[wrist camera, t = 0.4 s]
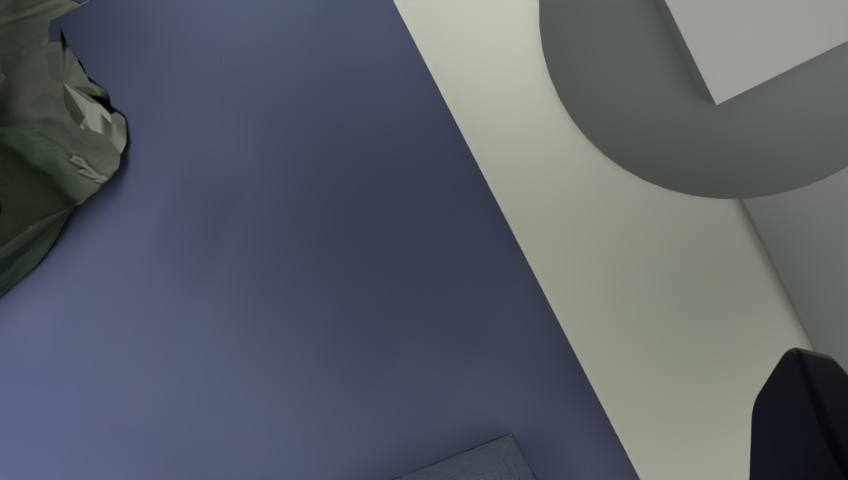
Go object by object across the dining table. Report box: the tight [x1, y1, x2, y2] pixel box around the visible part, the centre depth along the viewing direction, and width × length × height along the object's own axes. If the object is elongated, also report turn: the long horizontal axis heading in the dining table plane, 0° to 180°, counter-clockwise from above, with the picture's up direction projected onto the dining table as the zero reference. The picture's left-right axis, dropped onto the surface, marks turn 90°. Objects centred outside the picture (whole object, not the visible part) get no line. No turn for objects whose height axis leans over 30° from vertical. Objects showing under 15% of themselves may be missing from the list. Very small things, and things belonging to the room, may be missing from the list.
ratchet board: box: [393, 0, 848, 480], centre depth 17 cm, size 20×14×6 cm
